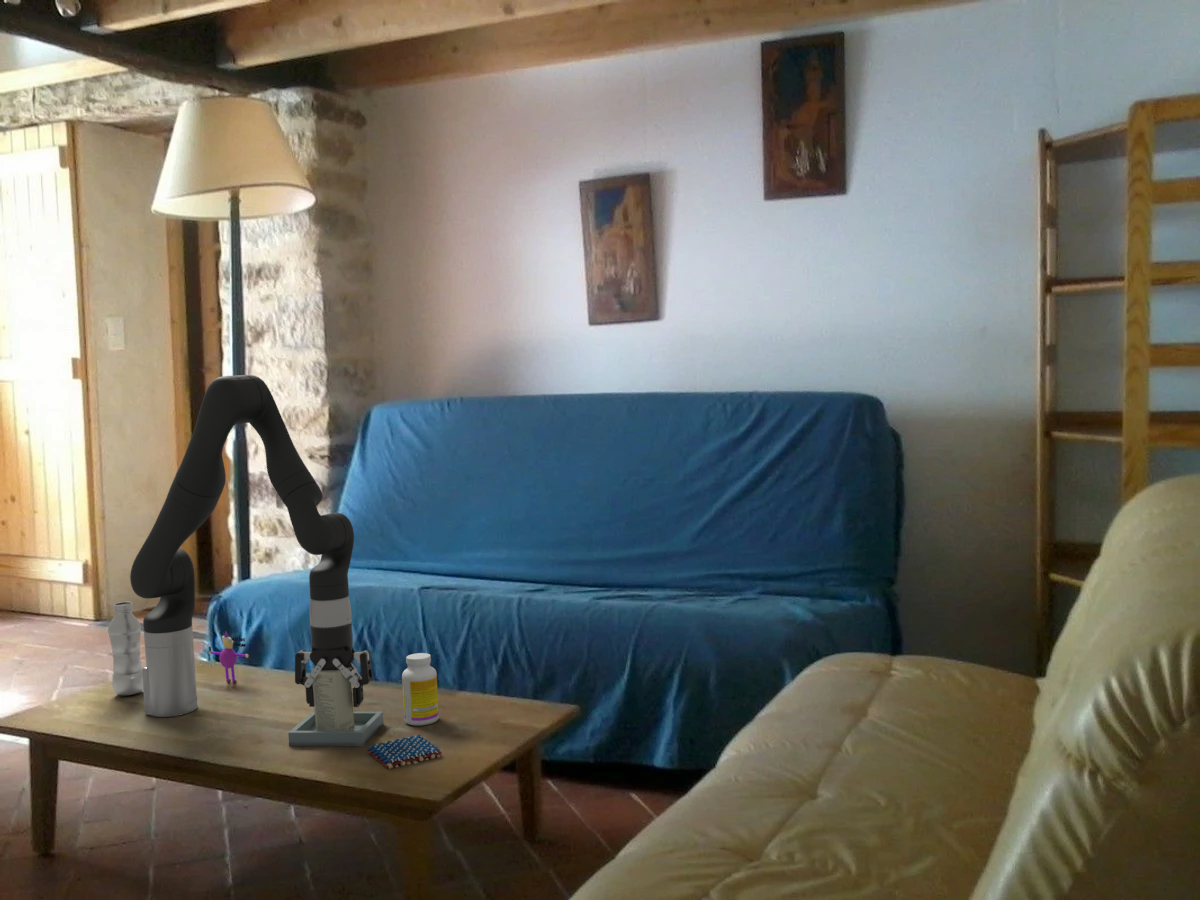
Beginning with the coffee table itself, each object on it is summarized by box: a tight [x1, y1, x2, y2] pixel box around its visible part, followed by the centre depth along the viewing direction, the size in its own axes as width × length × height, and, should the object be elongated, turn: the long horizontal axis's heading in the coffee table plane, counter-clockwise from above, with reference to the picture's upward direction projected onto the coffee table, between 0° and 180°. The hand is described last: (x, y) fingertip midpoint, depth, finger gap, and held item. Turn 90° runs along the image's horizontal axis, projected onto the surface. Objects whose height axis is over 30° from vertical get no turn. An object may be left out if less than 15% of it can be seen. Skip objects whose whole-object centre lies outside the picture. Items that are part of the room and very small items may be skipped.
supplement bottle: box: [401, 652, 440, 727], centre depth 208 cm, size 7×7×13 cm
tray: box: [287, 710, 385, 747], centre depth 202 cm, size 14×12×2 cm
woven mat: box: [366, 734, 443, 770], centre depth 191 cm, size 10×11×2 cm
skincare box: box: [310, 667, 355, 731], centre depth 202 cm, size 6×4×12 cm
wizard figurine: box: [208, 630, 249, 684], centre depth 239 cm, size 11×3×12 cm, turn 66°
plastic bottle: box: [107, 601, 143, 696], centre depth 233 cm, size 6×7×20 cm
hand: (335, 705), depth 202 cm, fingers open, 8 cm apart
